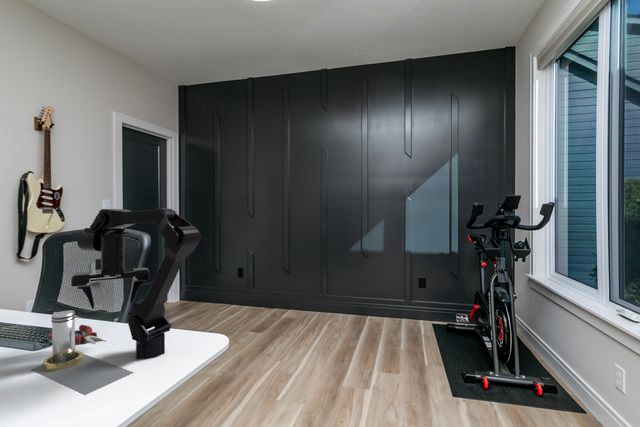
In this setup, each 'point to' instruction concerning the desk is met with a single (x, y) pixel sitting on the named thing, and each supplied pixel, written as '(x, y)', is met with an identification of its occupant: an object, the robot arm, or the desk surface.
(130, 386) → the desk surface
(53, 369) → the socket collar
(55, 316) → the piston
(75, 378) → the mat
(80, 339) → the pliers
